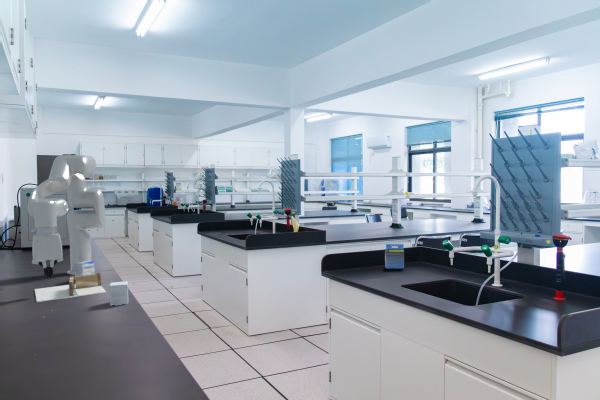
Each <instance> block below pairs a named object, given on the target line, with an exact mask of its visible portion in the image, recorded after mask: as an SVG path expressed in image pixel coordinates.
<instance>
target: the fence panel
mask: <svg viewBox="0 0 600 400" xmlns="http://www.w3.org/2000/svg"><path fill="white" fill-rule="evenodd" d="M74 284H75V281H74V282H73V277H70V282H69V281H68V285H69V296H72V295H74Z"/></svg>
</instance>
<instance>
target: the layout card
mask: <svg viewBox="0 0 600 400" xmlns="http://www.w3.org/2000/svg"><path fill="white" fill-rule="evenodd" d="M74 284H75V289H74V295H72V296H69V284H64V285H58V286H57V285H56V286H49V287H40V288H34V294H35V301H36V303H43V302H49V301H50V302H51V301H56V300H65V299H69V298H79V297H85V296H92V295H99V294H106V293H107V291H106V290H105V288H104V287H103V286H102V284H101V285H99V286H91V287H83V288H76V283H74Z"/></svg>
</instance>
